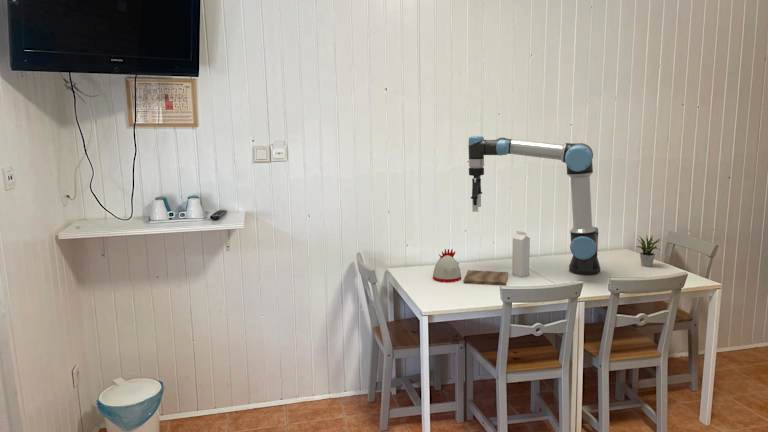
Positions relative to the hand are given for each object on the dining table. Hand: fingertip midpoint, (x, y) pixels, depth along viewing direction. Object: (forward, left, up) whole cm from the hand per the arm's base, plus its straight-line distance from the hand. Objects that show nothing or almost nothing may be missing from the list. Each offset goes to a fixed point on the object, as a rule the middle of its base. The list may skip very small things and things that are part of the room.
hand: (476, 209), depth 314 cm
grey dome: (+13, +17, -32) cm, 39 cm away
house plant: (-85, -22, -32) cm, 94 cm away
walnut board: (-6, +15, -32) cm, 36 cm away
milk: (-22, +5, -32) cm, 39 cm away
